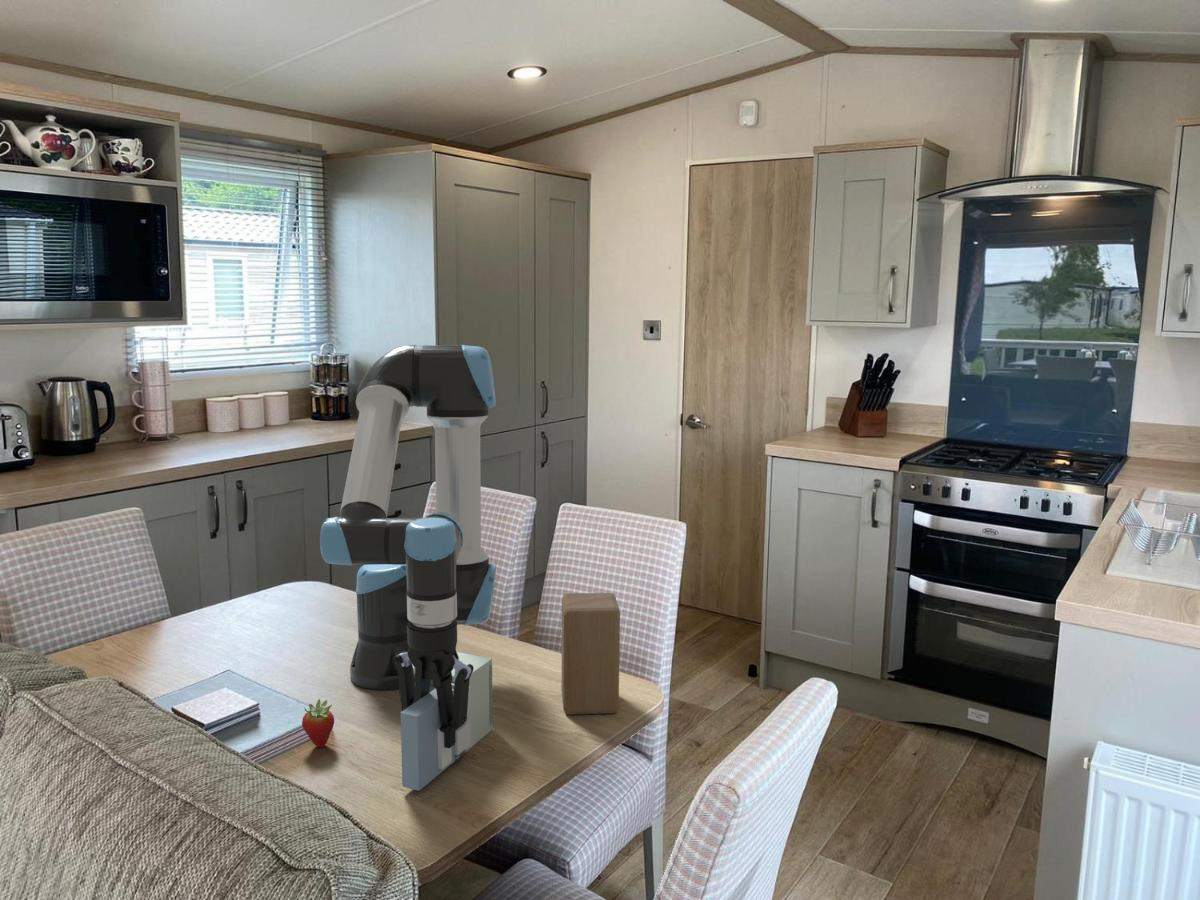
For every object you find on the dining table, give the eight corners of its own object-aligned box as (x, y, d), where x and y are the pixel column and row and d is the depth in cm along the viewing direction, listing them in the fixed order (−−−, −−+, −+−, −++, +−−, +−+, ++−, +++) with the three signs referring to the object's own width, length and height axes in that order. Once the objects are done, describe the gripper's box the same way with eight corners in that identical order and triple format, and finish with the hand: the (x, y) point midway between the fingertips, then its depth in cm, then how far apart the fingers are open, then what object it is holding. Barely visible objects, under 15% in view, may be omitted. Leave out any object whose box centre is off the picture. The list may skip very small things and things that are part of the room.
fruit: (305, 756, 152) (303, 710, 151) (301, 742, 157) (299, 697, 156) (337, 750, 154) (335, 705, 153) (332, 736, 159) (331, 692, 158)
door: (399, 785, 142) (397, 711, 140) (450, 745, 155) (448, 676, 152) (421, 791, 140) (420, 717, 138) (470, 750, 153) (469, 681, 151)
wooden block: (561, 692, 177) (561, 591, 174) (613, 691, 178) (615, 591, 175) (563, 716, 168) (564, 610, 164) (619, 715, 168) (620, 609, 165)
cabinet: (404, 737, 159) (402, 665, 157) (434, 716, 167) (432, 647, 165) (464, 752, 154) (464, 678, 152) (492, 729, 162) (492, 658, 160)
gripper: (373, 619, 143) (378, 762, 147) (464, 636, 136) (466, 785, 140) (403, 604, 149) (406, 741, 153) (490, 620, 143) (491, 762, 147)
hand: (434, 762), depth 147 cm, fingers closed on door, 3 cm apart
